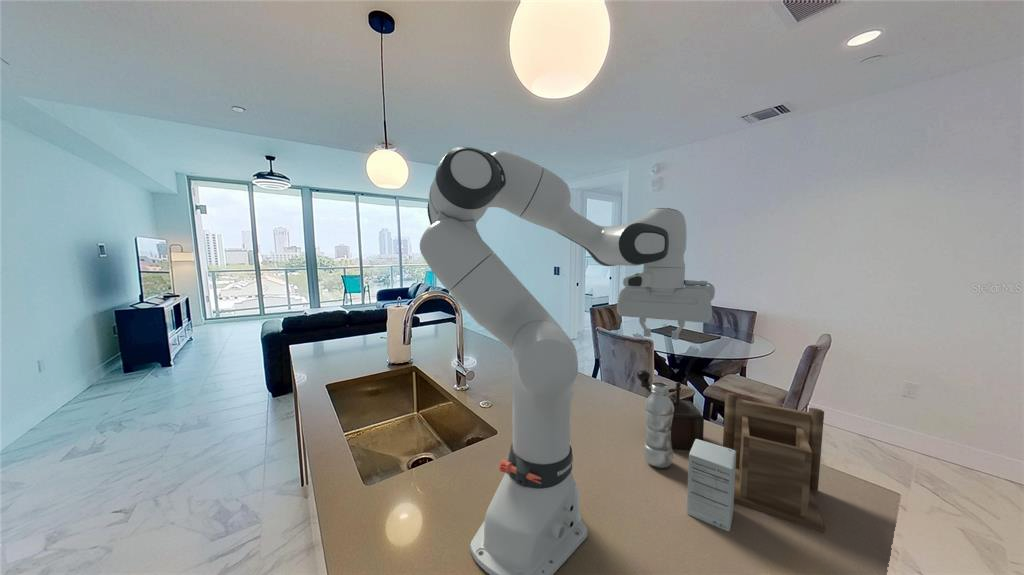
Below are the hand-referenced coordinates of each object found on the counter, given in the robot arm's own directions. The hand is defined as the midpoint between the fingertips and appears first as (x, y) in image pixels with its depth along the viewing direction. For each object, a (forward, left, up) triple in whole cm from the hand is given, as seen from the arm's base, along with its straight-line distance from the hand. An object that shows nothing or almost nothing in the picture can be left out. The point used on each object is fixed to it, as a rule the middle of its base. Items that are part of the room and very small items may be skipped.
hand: (660, 337), depth 78 cm
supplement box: (-11, -12, -32) cm, 36 cm away
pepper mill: (+14, 0, -32) cm, 35 cm away
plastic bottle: (0, 0, -32) cm, 32 cm away
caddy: (+2, -22, -32) cm, 39 cm away
